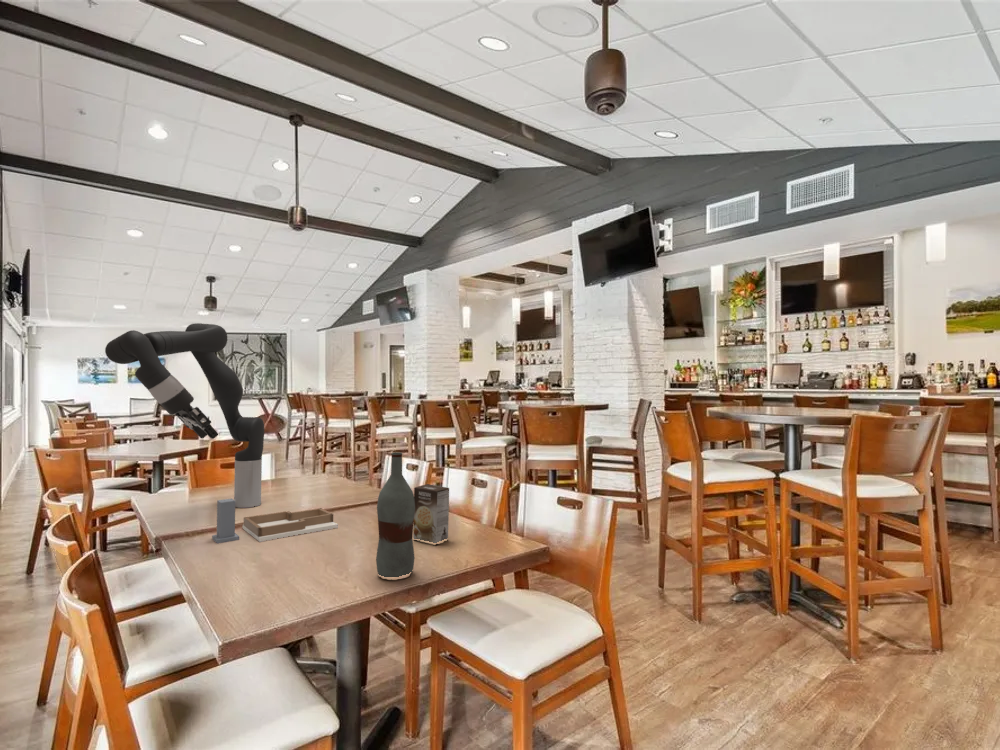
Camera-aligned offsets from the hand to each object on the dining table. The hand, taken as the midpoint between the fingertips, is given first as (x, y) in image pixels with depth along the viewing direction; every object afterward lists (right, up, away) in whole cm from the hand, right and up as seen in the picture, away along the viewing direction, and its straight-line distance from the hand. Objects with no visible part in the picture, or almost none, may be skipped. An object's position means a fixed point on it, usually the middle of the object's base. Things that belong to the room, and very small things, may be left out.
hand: (210, 436), depth 157 cm
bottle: (+60, -31, -26) cm, 73 cm away
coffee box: (+65, -32, +2) cm, 72 cm away
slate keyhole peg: (+4, -31, +1) cm, 31 cm away
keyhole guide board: (+19, -31, +13) cm, 38 cm away
